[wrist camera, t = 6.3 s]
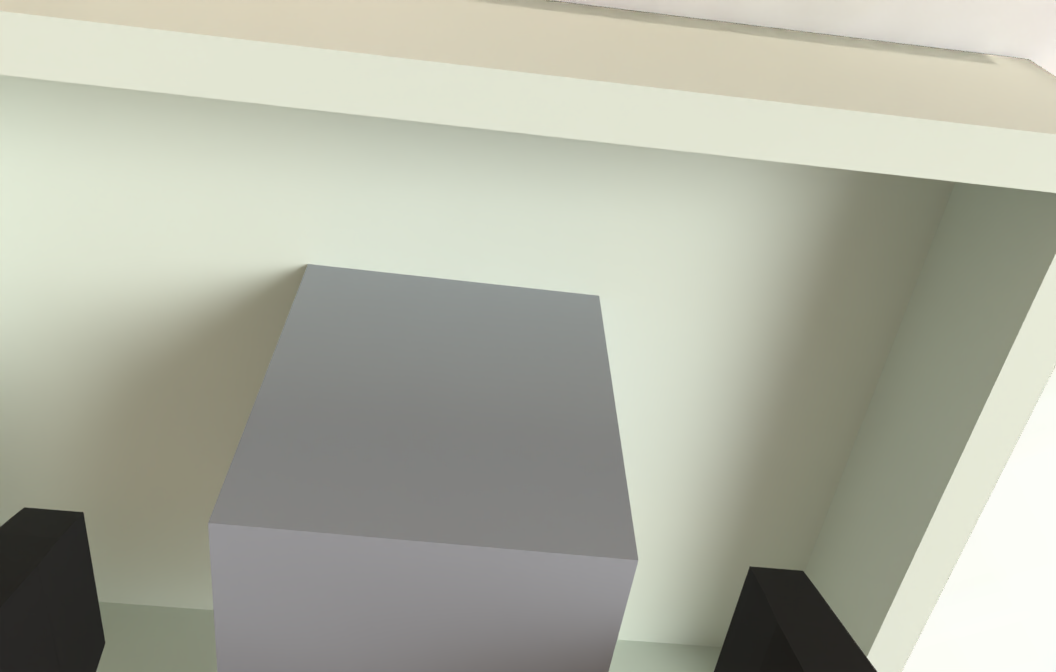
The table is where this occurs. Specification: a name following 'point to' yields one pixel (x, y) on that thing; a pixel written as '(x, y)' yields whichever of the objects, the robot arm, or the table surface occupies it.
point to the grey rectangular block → (426, 486)
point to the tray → (532, 275)
